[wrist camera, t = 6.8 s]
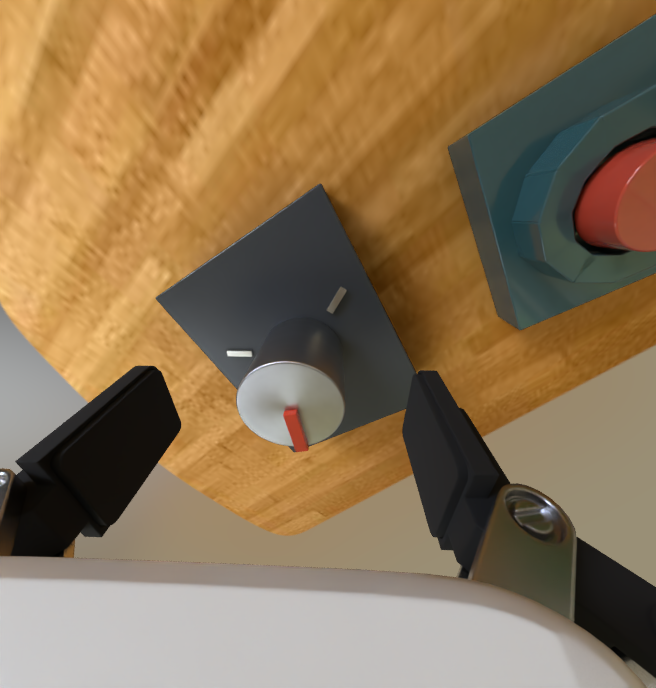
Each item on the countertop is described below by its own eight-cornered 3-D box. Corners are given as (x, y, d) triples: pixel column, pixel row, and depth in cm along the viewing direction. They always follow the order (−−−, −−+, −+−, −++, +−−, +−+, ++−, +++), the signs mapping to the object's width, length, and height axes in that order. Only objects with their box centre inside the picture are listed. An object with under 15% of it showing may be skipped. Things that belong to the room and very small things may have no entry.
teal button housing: (446, 147, 12) (492, 119, 9) (642, 21, 10) (807, -84, 7) (497, 316, 16) (543, 346, 12) (647, 250, 14) (753, 262, 10)
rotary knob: (253, 324, 13) (215, 375, 9) (335, 310, 13) (334, 357, 9) (276, 390, 15) (253, 457, 11) (348, 380, 15) (353, 447, 11)
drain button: (567, 178, 10) (611, 171, 8) (681, 115, 9) (757, 94, 7) (578, 263, 11) (618, 271, 9) (678, 216, 10) (741, 217, 9)
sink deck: (185, 284, 16) (152, 299, 13) (324, 189, 13) (320, 182, 10) (299, 422, 21) (293, 454, 18) (416, 372, 18) (430, 401, 15)
